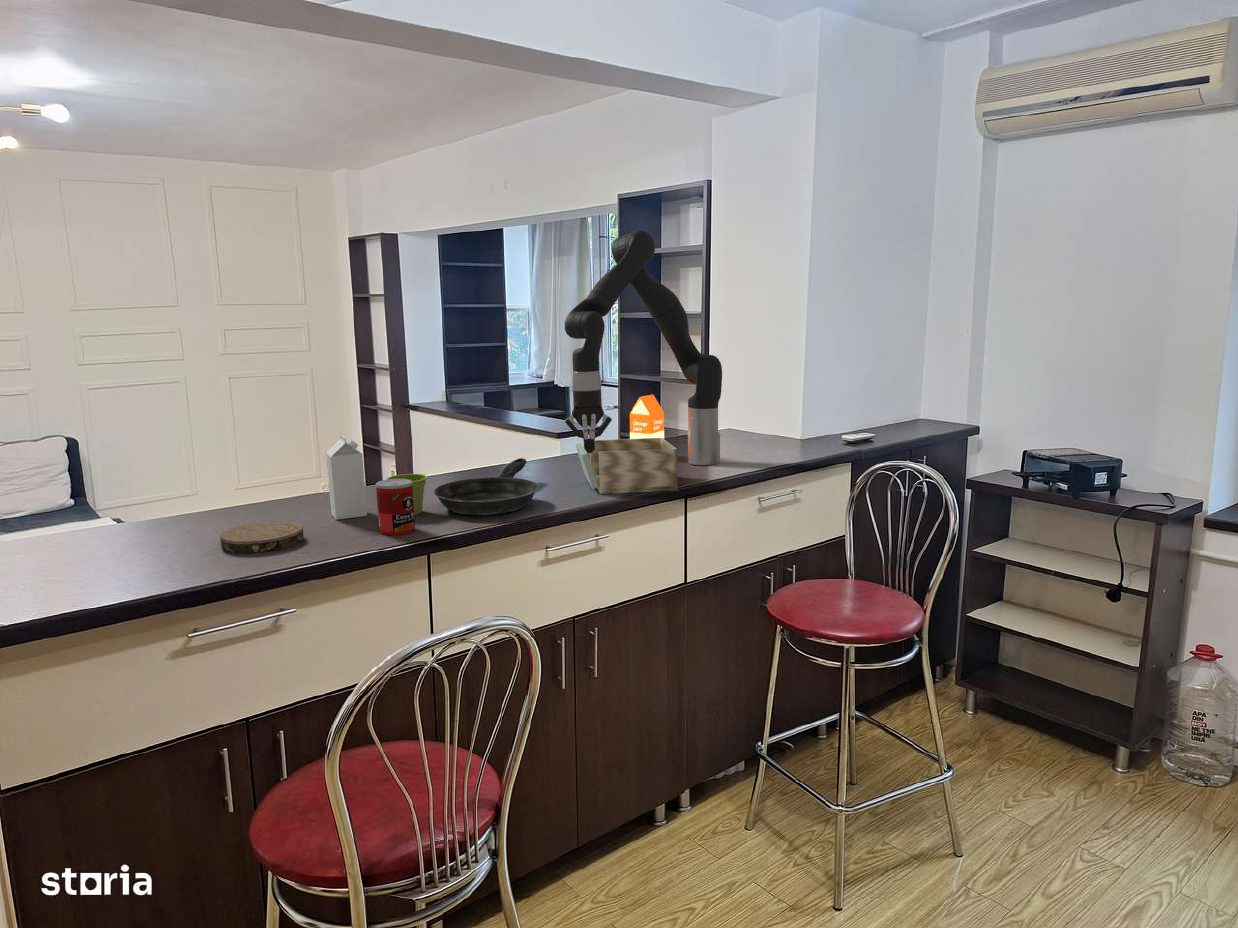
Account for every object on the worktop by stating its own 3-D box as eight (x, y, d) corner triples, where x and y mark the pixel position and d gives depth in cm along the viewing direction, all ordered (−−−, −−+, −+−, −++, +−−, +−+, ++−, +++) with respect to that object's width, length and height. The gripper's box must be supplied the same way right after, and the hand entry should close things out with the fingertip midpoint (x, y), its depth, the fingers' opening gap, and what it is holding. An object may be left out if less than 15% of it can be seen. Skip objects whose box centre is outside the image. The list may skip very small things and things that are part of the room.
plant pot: (437, 512, 195) (435, 477, 194) (402, 520, 189) (400, 483, 187) (415, 506, 202) (413, 472, 200) (381, 513, 195) (378, 478, 193)
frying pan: (519, 522, 185) (518, 493, 184) (417, 518, 191) (415, 490, 189) (570, 482, 227) (569, 458, 226) (485, 480, 233) (484, 456, 231)
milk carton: (335, 520, 189) (329, 439, 186) (331, 514, 195) (324, 435, 192) (367, 516, 192) (361, 436, 189) (361, 510, 199) (355, 433, 195)
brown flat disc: (319, 536, 177) (317, 522, 177) (272, 557, 162) (271, 543, 162) (255, 532, 181) (253, 519, 180) (203, 553, 166) (202, 539, 165)
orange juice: (664, 456, 264) (664, 394, 260) (650, 461, 257) (650, 397, 253) (643, 454, 268) (643, 393, 264) (629, 458, 261) (628, 396, 257)
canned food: (397, 537, 174) (393, 487, 172) (371, 532, 178) (367, 483, 176) (423, 529, 180) (420, 480, 178) (397, 524, 185) (394, 477, 183)
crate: (662, 475, 234) (661, 437, 232) (677, 490, 215) (677, 449, 213) (591, 478, 231) (590, 440, 229) (600, 494, 212) (599, 452, 210)
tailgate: (590, 474, 229) (580, 442, 227) (598, 487, 213) (587, 453, 211) (585, 475, 229) (575, 444, 227) (592, 488, 213) (581, 455, 211)
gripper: (609, 385, 221) (611, 448, 224) (560, 388, 219) (563, 451, 222) (613, 388, 213) (615, 453, 217) (563, 390, 211) (566, 456, 215)
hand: (589, 452), depth 219 cm, fingers closed
